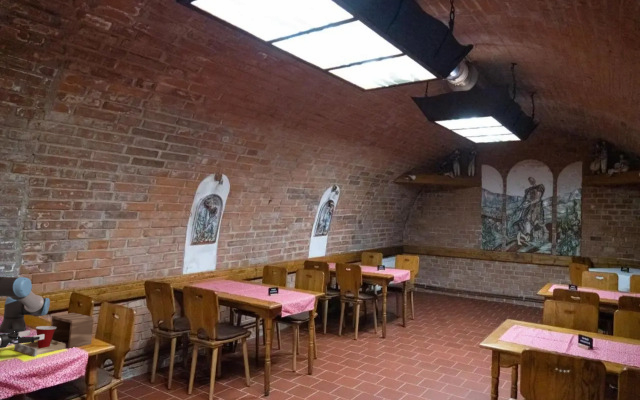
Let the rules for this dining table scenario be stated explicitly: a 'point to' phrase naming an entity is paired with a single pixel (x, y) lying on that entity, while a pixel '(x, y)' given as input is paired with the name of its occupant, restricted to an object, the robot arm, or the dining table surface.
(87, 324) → the block
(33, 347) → the tray
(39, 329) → the plastic cup
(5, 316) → the robot arm
